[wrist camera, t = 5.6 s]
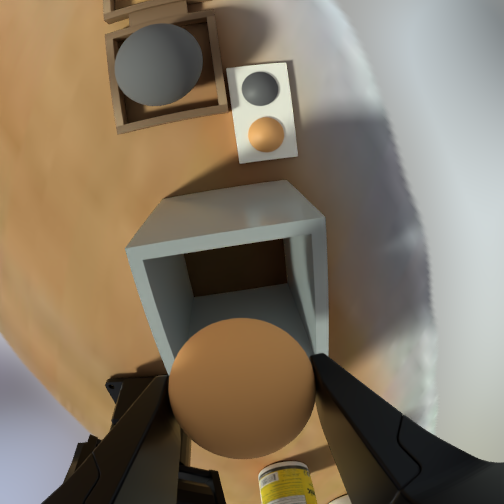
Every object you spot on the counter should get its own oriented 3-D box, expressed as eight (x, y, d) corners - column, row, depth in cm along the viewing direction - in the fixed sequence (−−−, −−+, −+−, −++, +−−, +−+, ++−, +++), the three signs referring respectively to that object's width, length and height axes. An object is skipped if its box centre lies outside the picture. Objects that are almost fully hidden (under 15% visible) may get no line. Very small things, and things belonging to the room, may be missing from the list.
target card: (296, 155, 16) (298, 156, 16) (239, 162, 16) (239, 163, 16) (285, 63, 14) (286, 62, 14) (226, 69, 14) (226, 68, 14)
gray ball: (210, 99, 15) (205, 92, 11) (134, 115, 15) (107, 114, 11) (200, 29, 13) (193, 3, 9) (125, 46, 13) (98, 27, 9)
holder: (228, 112, 15) (228, 111, 14) (122, 133, 15) (117, 134, 14) (202, -71, 10) (201, -78, 10) (106, -49, 10) (102, -54, 9)
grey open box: (296, 288, 19) (328, 367, 13) (187, 305, 19) (174, 389, 13) (286, 179, 17) (325, 217, 10) (162, 198, 16) (124, 248, 10)
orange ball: (302, 376, 11) (329, 468, 7) (193, 392, 11) (187, 486, 7) (296, 280, 9) (336, 376, 6) (161, 301, 9) (133, 402, 6)
